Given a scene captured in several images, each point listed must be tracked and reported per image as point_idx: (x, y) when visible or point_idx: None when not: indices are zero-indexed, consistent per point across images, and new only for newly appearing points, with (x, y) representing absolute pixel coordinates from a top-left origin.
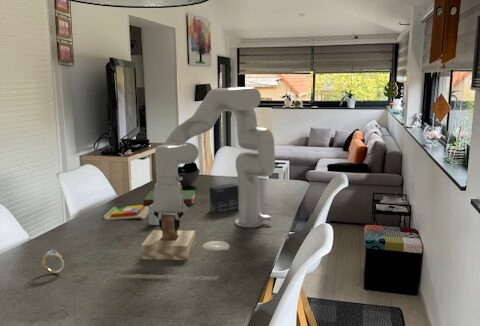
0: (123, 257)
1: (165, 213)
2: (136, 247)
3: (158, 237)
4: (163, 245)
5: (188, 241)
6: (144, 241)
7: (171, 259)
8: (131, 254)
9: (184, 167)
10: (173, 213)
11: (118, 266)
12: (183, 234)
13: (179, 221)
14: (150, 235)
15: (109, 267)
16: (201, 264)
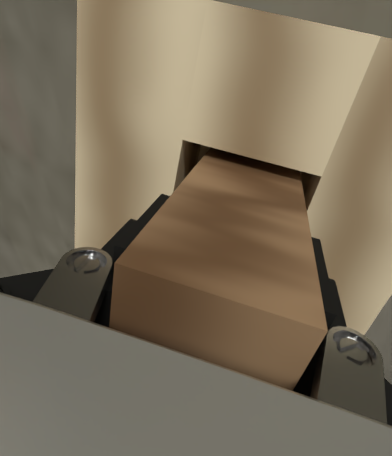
0: (25, 178)
1: (131, 269)
2: (39, 32)
3: (151, 197)
4: None
5: (362, 323)
6: (75, 246)
7: None
8: (47, 147)
9: None
10: (271, 314)
11: (41, 264)
12: (363, 171)
13: (341, 317)
14: (85, 138)
15: (13, 264)
16: (381, 342)
